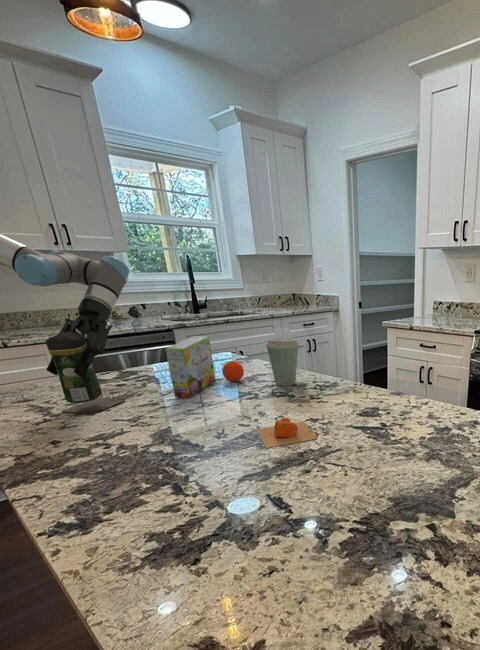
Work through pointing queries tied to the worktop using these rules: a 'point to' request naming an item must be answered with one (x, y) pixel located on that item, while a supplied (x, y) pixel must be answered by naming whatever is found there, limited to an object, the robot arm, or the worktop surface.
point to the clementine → (233, 371)
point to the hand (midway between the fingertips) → (65, 373)
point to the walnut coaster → (93, 406)
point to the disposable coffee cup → (283, 359)
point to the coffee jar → (73, 367)
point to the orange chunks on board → (285, 433)
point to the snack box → (190, 366)
